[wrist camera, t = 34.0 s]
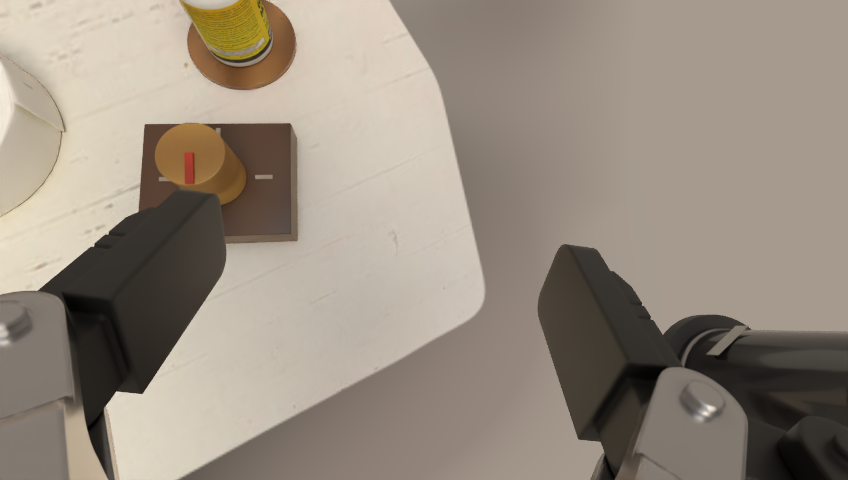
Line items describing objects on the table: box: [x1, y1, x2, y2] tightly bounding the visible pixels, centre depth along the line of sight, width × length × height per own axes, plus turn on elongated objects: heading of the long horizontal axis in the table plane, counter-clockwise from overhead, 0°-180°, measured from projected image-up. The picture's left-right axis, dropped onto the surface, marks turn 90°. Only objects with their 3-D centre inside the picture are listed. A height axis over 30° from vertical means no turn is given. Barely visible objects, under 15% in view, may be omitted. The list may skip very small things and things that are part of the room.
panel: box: [139, 123, 297, 244], centre depth 36 cm, size 12×10×3 cm
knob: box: [155, 123, 247, 205], centre depth 32 cm, size 5×5×6 cm
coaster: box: [187, 0, 296, 90], centre depth 41 cm, size 10×10×1 cm
